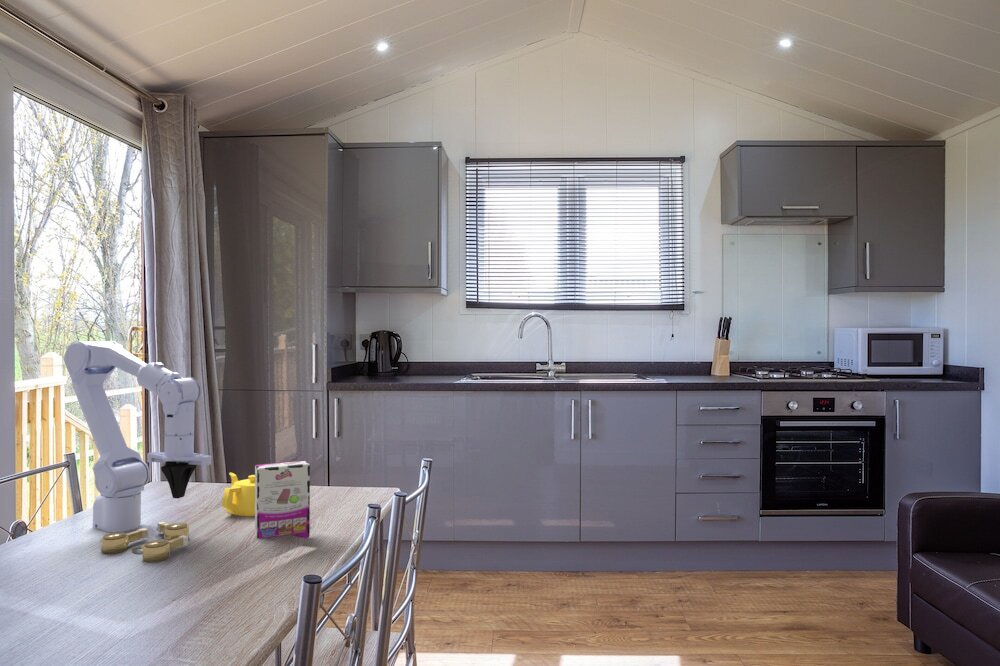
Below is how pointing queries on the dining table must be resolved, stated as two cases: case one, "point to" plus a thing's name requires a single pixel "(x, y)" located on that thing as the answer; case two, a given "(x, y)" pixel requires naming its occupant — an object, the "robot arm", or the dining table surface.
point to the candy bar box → (282, 499)
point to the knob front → (161, 548)
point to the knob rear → (173, 530)
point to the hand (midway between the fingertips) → (178, 497)
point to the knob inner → (120, 540)
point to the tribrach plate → (138, 549)
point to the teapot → (240, 496)
